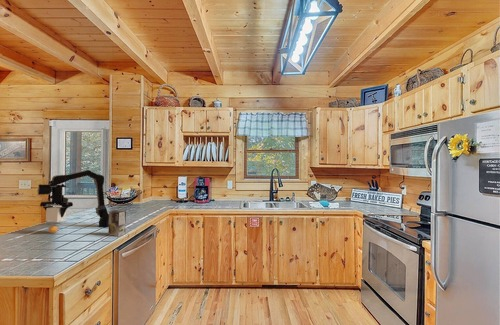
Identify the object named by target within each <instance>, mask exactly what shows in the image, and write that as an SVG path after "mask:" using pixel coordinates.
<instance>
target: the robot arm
mask: <svg viewBox="0 0 500 325" xmlns="http://www.w3.org/2000/svg"><path fill="white" fill-rule="evenodd" d="M82 177H83V178H84V177H89V178H91V179H93V183H94V185H95V188H96V195H97V196H96V198H97V207H95V214H96V215H97V216H98V217H99V220H98V226H97V227H98V228H109V212H108V210H107V206H106V204H105V196H104V195H105V194H104V183H105V176H104V175H103V174H99V173H95V172H93V171H92V170H89V169H86V170H81V171H77V172H73V173H69V174H59V175H54V176H52V177H51V180H50V182H48V184H38V188H37V195H38V196H42V195H50V194H51V195H50V197H49V198H51V200H50V201H49V200H45V201H41V202H40V203H39V206H40V207H42V208H43V209H44V210H45V211H46V208H50V207H54V206H58V207H61V208H60V212H61V217H63V216H64V213H65V211H66V212H67V209H68V208H69V209H70V208H71V207H73V205H74V204H73V201H69V198H68V197H65V195H64V194H63V188H67V186H66V185H65V184H64V183H66V182H68V181H70V180H75V179H79V178H82Z"/></svg>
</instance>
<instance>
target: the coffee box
mask: <svg viewBox="0 0 500 325" xmlns="http://www.w3.org/2000/svg"><path fill="white" fill-rule="evenodd" d="M108 214H109V226H108V232H107V233H108V236H113V235H114V237H121V236H124V235H126V222H127V221H126V219H127V218H126V217H127V211H126V210H119V209H118V210H117V209H116V210H111V211H109V212H108Z"/></svg>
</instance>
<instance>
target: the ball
mask: <svg viewBox="0 0 500 325" xmlns="http://www.w3.org/2000/svg"><path fill="white" fill-rule="evenodd" d="M58 229H59V228H58V226H57V225H51V226H49V228H48V232H49V233H50V234H54V233H55V234H56V233H57V231H58Z"/></svg>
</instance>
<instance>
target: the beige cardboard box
mask: <svg viewBox="0 0 500 325" xmlns="http://www.w3.org/2000/svg"><path fill="white" fill-rule="evenodd" d="M61 207H62V206H56V205H54V206H53V207H50V208H46V210H45V212H46V213H45V222H49V223H59V222H62V221H66V215H67V210H66V211H65V213H64V216H63V217H61V212H60V208H61Z"/></svg>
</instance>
